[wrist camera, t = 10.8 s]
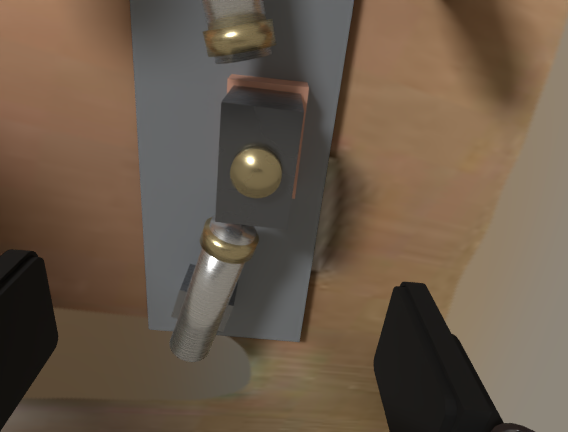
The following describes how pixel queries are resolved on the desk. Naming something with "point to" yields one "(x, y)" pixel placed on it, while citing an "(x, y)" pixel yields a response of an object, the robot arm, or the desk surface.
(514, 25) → the desk surface
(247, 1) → the shaft
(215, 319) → the shaft
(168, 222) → the base plate
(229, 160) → the block
